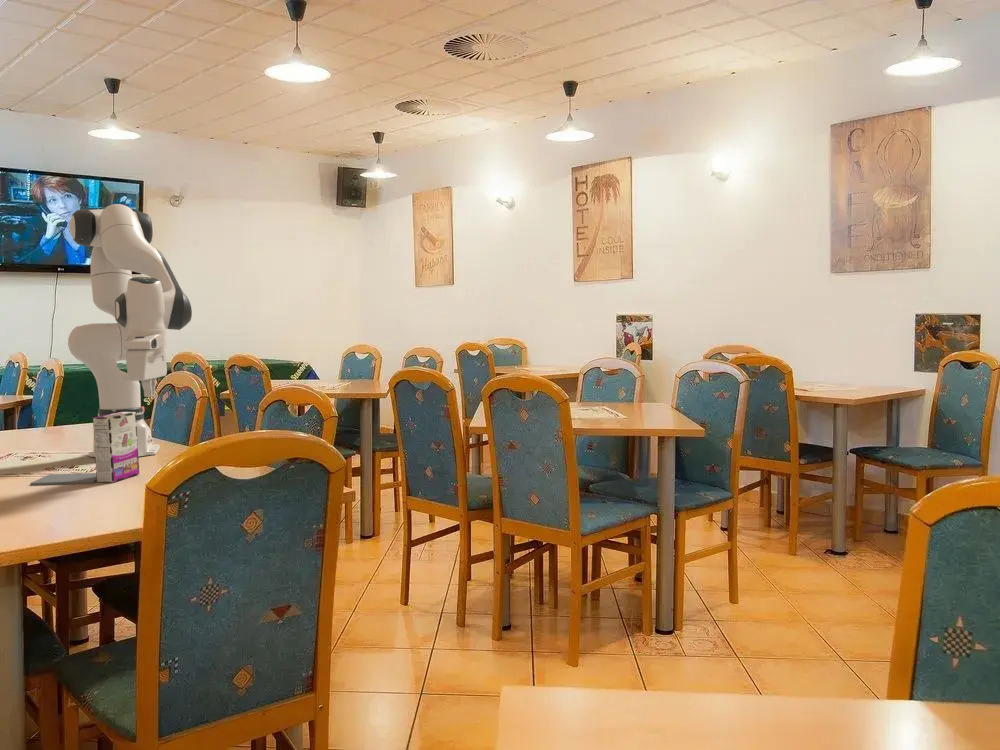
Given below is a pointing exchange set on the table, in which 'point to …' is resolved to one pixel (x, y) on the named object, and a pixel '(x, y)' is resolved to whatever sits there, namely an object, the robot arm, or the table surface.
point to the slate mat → (66, 479)
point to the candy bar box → (116, 446)
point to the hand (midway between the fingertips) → (149, 396)
